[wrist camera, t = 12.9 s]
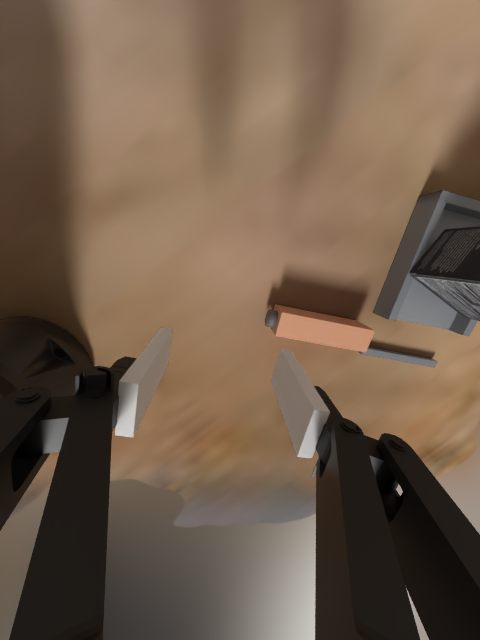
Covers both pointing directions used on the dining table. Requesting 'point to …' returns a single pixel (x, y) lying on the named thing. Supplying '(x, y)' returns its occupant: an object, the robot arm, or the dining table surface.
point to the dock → (400, 287)
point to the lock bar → (318, 328)
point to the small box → (453, 270)
